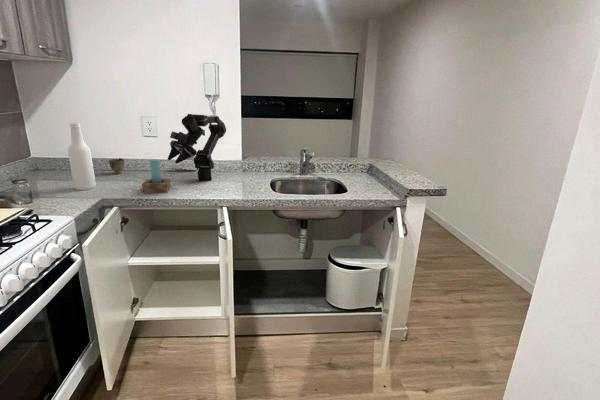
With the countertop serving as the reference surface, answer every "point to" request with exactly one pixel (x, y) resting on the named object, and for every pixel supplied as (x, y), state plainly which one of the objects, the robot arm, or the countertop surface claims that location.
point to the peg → (155, 171)
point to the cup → (117, 165)
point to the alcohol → (80, 160)
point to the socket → (156, 186)
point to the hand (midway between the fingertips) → (171, 161)
